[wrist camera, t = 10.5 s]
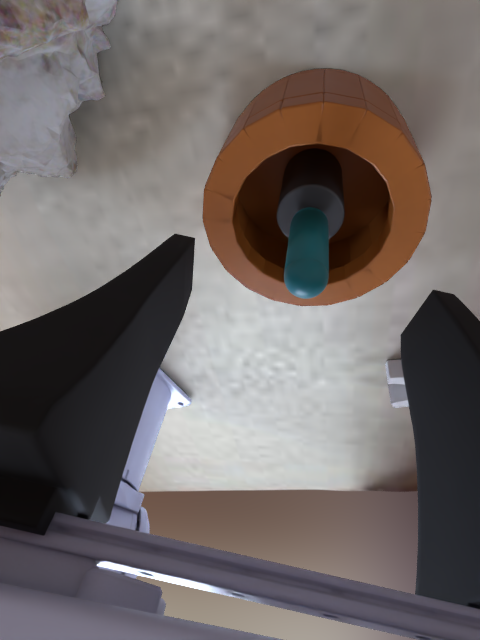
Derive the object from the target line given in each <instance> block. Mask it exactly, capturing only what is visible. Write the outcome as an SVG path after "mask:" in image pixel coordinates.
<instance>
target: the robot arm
mask: <svg viewBox="0 0 480 640" xmlns="http://www.w3.org/2000/svg"><path fill="white" fill-rule="evenodd" d="M194 245H195V238H192V237H188V236H183V235H179V234H174V235H172V236H171V237H170V238H168V239H167V240H166V241H165V242H163V243H162V244H161V245H160V246H158V247H157V248H156V249H155V250H153V251H152V252H151V253H149V254H148V255H147V256H146V257H144V258H143V259H141V260H140V261H139V262H137V263H136V264H135V265H133V266H132V267H131V268H129V269H128V270H126V271H125V272H123V273H122V274H120V275H119V276H117V277H116V278H114V279H113V280H111V281H110V282H108V283H106V284H105V285H103V286H102V287H100V288H98V289H97V290H95V291H93V292H91V293H90V294H88V295H86V296H84V297H82V298H80V299H78V300H76V301H74V302H72V303H70V304H68V305H66V306H63V307H61V308H59V309H56V310H54V311H52V312H50V313H47V314H45V315H43V316H40V317H38V318H36V319H33V320H31V321H28V322H25V323H23V324H20V325H17V326H15V327H12V328H9V329H6V330H3V331H0V640H282V639H277V638H272V637H268V636H263V635H257V634H253V633H248V632H244V631H238V630H234V629H228V628H223V627H219V626H214V625H208V624H204V623H198V622H194V621H188V620H184V619H179V618H174V617H169V616H164V611H165V607H166V603H165V601H164V600H163V599H162V598H161V595H162V590H161V588H160V587H158V586H155V585H152V584H149V583H146V582H143V581H140V580H137V579H136V577H137V575H140V576H145V577H149V578H153V579H157V580H162V581H166V582H170V583H175V584H179V585H184V586H188V587H192V588H197V589H201V590H205V591H209V592H214V593H218V594H222V595H227V596H231V597H235V598H240V599H244V600H248V601H253V602H257V603H261V604H266V605H270V606H275V607H279V608H283V609H287V610H292V611H296V612H300V613H305V614H309V615H313V616H318V617H322V618H327V619H331V620H335V621H339V622H344V623H348V624H352V625H357V626H361V627H366V628H370V629H374V630H379V631H383V632H387V633H391V634H396V635H400V636H404V637H409V638H413V639H418V640H480V321H479V320H478V319H477V318H476V317H475V316H474V314H473V313H472V312H471V311H470V310H469V309H468V308H467V307H466V306H465V305H464V304H463V303H462V302H461V301H460V300H459V299H458V298H457V297H456V296H455V295H454V294H450V293H445V292H441V291H436V290H433V291H432V292H431V293H430V295H429V296H428V298H427V299H426V300H425V302H424V303H423V305H422V306H421V307H420V309H419V310H418V312H417V313H416V314H415V316H414V317H413V319H412V320H411V321H410V323H409V324H408V326H407V327H406V328H405V330H404V331H403V333H402V334H401V364H402V371H403V376H404V382H405V388H406V393H407V399H408V404H409V409H410V415H411V420H412V425H413V431H414V439H415V448H416V463H417V482H418V556H417V578H416V591H415V595H414V594H411V593H406V592H402V591H397V590H393V589H389V588H384V587H380V586H376V585H371V584H367V583H362V582H358V581H354V580H349V579H345V578H340V577H336V576H331V575H327V574H323V573H319V572H315V571H310V570H306V569H301V568H297V567H292V566H288V565H284V564H280V563H275V562H271V561H266V560H262V559H258V558H253V557H249V556H245V555H240V554H236V553H231V552H227V551H222V550H218V549H214V548H210V547H205V546H201V545H197V544H192V543H188V542H183V541H179V540H175V539H170V538H166V537H161V536H157V535H153V534H149V532H150V525H149V520H148V515H147V511H146V509H145V508H143V507H141V504H142V501H143V498H144V494H142V493H140V492H138V491H139V488H140V485H141V482H142V479H143V476H144V473H145V471H146V468H147V465H148V462H149V459H150V456H151V453H152V450H153V448H154V445H155V442H156V439H157V436H158V433H159V430H160V428H161V425H162V422H163V419H164V416H165V413H166V410H167V409H170V408H176V407H182V406H188V405H190V404H191V399H190V398H189V397H188V396H187V395H186V394H185V393H184V392H183V391H182V390H181V389H180V388H179V387H178V386H177V385H176V384H175V383H174V382H173V381H172V380H171V379H170V378H169V377H168V376H167V375H166V374H165V373H164V372H163V371H162V370H161V369H160V368H159V367H160V365H161V363H162V361H163V359H164V357H165V355H166V353H167V350H168V348H169V346H170V344H171V342H172V340H173V338H174V335H175V333H176V331H177V329H178V327H179V325H180V322H181V320H182V318H183V316H184V313H185V310H186V307H187V304H188V300H189V297H190V294H191V291H192V280H193V263H194Z"/></svg>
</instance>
